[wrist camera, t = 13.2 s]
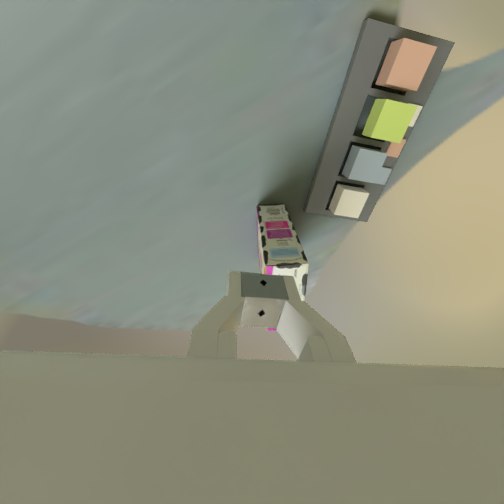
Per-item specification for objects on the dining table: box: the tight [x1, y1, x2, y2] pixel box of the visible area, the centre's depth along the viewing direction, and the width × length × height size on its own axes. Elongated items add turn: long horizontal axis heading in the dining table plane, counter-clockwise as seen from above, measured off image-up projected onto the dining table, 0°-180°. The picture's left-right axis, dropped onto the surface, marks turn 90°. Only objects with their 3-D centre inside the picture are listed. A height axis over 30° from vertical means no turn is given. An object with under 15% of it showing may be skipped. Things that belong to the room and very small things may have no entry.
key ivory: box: [329, 184, 370, 218], centre depth 36 cm, size 4×4×4 cm
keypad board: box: [303, 18, 454, 222], centre depth 33 cm, size 23×11×2 cm, turn 170°
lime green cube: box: [362, 99, 418, 143], centre depth 29 cm, size 4×4×4 cm
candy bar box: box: [257, 204, 309, 331], centre depth 35 cm, size 11×5×16 cm, turn 3°
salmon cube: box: [375, 38, 437, 91], centre depth 28 cm, size 4×4×4 cm
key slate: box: [342, 145, 388, 183], centre depth 33 cm, size 4×4×4 cm
